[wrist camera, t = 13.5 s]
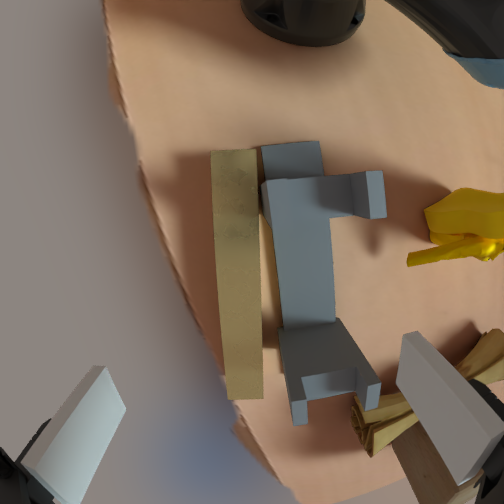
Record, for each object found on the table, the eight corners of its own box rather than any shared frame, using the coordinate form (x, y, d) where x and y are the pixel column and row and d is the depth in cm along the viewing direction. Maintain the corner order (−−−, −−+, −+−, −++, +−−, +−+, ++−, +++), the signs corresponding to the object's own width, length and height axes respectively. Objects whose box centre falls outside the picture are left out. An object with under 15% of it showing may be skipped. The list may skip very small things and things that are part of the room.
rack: (253, 148, 28) (256, 115, 15) (323, 142, 28) (372, 109, 15) (282, 375, 33) (295, 452, 21) (339, 365, 33) (372, 435, 21)
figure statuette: (396, 272, 31) (532, 364, 9) (379, 211, 29) (544, 251, 8) (487, 221, 29) (606, 252, 8) (475, 168, 28) (604, 171, 6)
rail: (216, 158, 28) (210, 151, 24) (255, 156, 28) (256, 148, 24) (230, 374, 34) (227, 399, 29) (261, 373, 34) (263, 398, 29)
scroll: (349, 426, 36) (366, 472, 26) (342, 386, 34) (363, 436, 24) (481, 359, 35) (512, 387, 25) (487, 315, 33) (525, 340, 23)
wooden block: (403, 409, 36) (455, 495, 16) (448, 394, 36) (504, 464, 16) (388, 445, 38) (425, 524, 18) (431, 431, 38) (473, 498, 18)
